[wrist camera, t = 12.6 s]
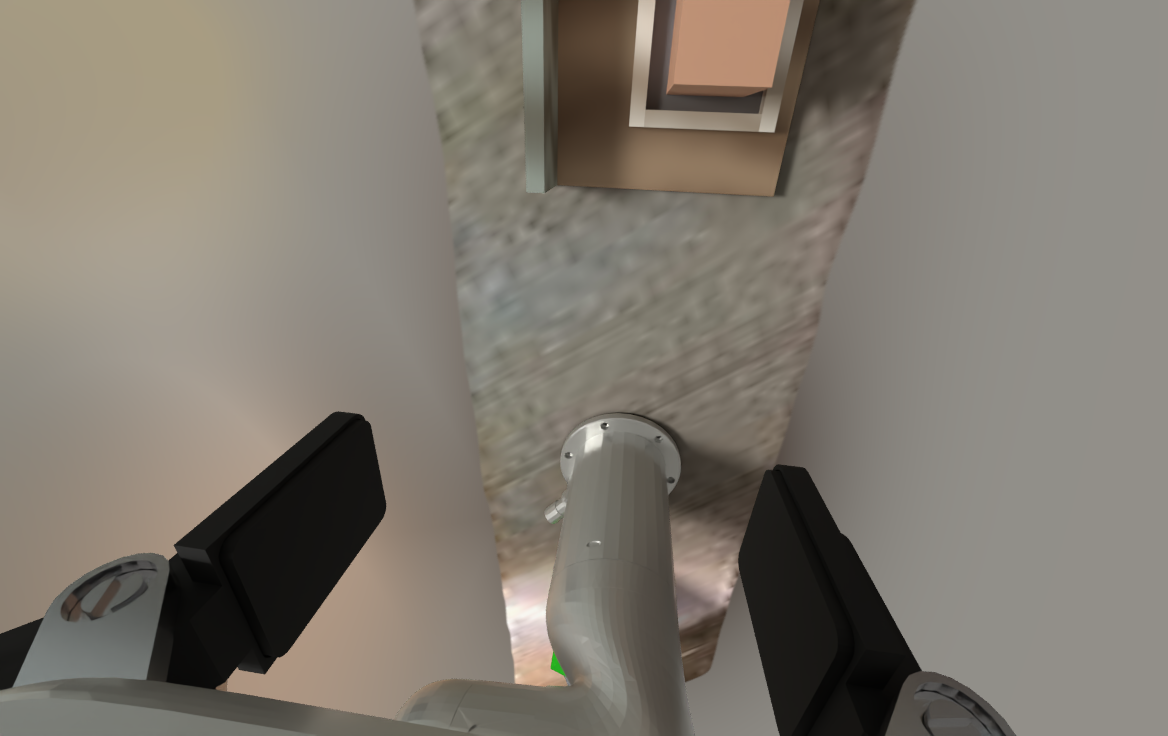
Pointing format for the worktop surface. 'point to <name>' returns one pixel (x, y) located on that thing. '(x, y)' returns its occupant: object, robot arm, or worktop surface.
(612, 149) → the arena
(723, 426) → the worktop surface
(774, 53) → the block
